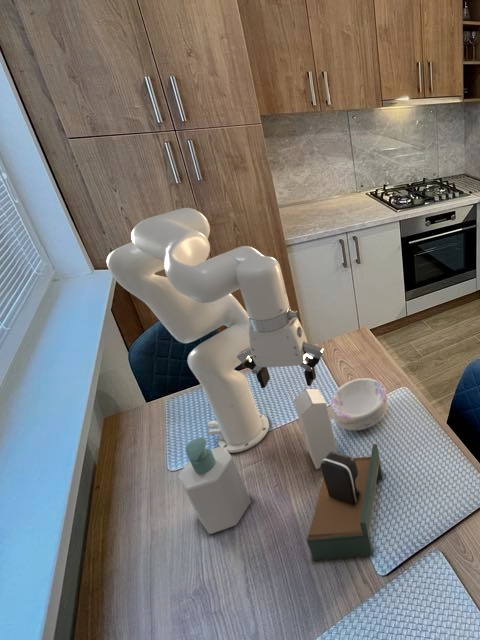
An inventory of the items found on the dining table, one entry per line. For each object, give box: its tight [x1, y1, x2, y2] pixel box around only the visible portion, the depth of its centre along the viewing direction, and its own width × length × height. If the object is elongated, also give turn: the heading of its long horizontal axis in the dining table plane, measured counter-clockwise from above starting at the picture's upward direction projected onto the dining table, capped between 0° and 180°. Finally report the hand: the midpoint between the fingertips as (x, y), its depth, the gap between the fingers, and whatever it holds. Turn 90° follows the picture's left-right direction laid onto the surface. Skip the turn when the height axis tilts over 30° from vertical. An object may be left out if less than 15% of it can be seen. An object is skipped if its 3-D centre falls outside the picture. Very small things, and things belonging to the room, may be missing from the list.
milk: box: [293, 384, 339, 470], centre depth 100 cm, size 6×6×22 cm
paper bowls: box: [330, 377, 389, 432], centre depth 114 cm, size 15×15×8 cm
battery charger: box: [320, 451, 360, 505], centre depth 86 cm, size 7×4×11 cm, turn 70°
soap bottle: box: [177, 437, 251, 535], centre depth 88 cm, size 10×9×22 cm
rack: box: [306, 443, 384, 561], centre depth 89 cm, size 12×18×11 cm, turn 4°
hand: (288, 382), depth 88 cm, fingers open, 9 cm apart
